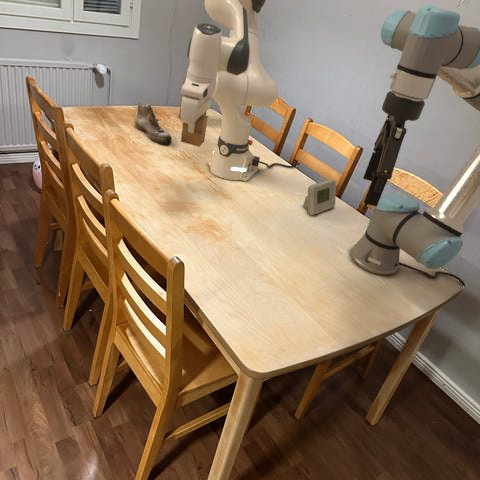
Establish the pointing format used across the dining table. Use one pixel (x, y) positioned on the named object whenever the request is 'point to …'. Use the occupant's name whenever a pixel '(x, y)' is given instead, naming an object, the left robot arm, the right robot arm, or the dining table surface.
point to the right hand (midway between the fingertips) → (369, 191)
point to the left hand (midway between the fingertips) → (194, 129)
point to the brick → (195, 132)
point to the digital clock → (320, 196)
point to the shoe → (151, 124)
